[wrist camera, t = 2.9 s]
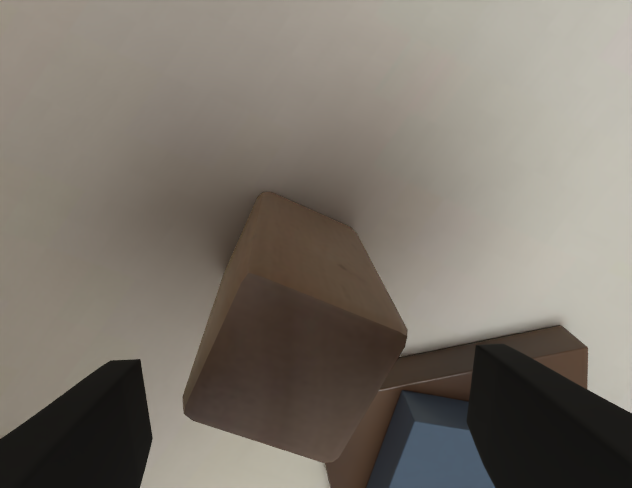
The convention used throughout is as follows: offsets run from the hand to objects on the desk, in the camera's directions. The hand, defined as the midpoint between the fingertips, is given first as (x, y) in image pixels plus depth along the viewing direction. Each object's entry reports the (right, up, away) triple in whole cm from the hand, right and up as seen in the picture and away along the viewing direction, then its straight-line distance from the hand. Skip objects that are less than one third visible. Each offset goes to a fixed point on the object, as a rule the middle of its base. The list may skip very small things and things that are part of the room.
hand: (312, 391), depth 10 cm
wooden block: (-1, +3, +8) cm, 8 cm away
